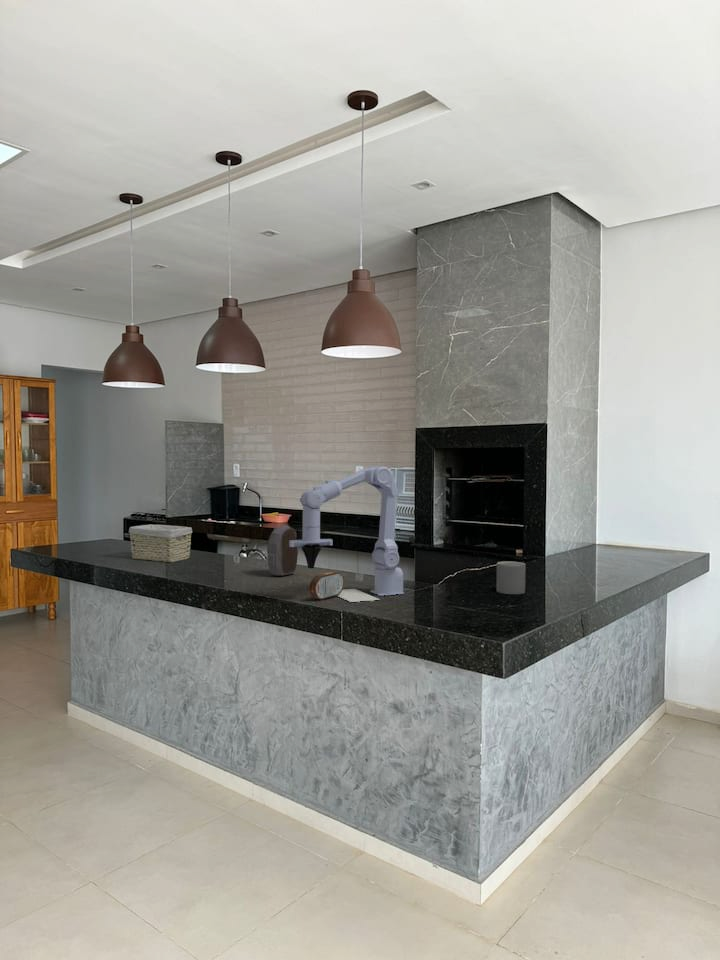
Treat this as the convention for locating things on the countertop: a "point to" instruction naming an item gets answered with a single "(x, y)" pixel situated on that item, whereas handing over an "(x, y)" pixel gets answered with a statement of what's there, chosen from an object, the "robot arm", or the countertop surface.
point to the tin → (326, 585)
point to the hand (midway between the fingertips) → (310, 567)
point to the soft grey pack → (282, 551)
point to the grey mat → (355, 596)
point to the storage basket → (160, 542)
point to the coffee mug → (510, 577)
